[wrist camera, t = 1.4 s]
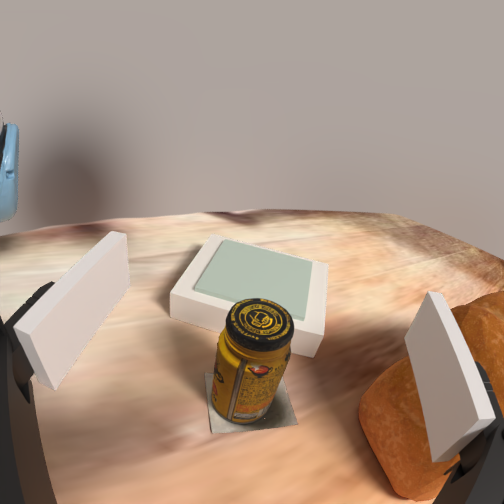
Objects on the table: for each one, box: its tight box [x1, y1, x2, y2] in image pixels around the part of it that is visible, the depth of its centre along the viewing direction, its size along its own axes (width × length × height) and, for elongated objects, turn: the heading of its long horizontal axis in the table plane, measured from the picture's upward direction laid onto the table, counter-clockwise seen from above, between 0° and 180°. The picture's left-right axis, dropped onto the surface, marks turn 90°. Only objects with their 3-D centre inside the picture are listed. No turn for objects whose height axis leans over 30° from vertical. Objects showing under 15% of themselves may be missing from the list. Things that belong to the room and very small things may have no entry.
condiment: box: [204, 298, 298, 433], centre depth 27 cm, size 7×8×12 cm
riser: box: [170, 234, 328, 358], centre depth 42 cm, size 18×15×5 cm
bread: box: [359, 291, 504, 502], centre depth 25 cm, size 16×26×17 cm, turn 106°
